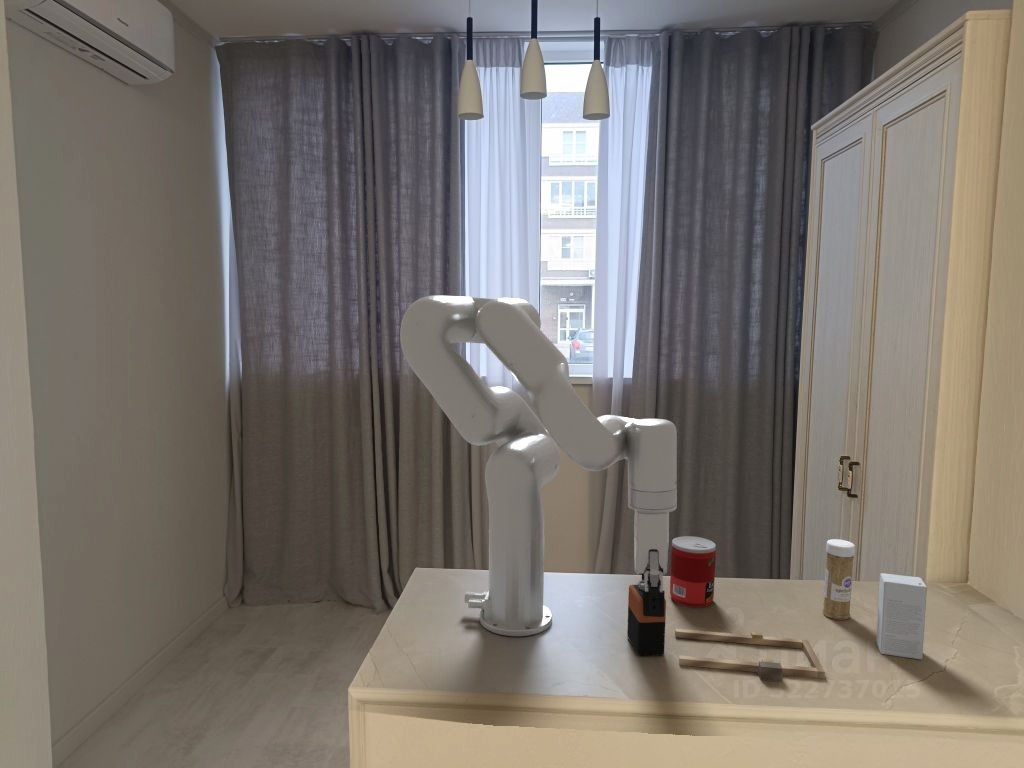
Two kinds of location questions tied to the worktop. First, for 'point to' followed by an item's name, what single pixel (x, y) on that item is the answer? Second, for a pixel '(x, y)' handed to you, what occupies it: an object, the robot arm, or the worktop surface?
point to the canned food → (692, 571)
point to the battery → (644, 625)
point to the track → (764, 667)
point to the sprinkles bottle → (838, 579)
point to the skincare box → (901, 615)
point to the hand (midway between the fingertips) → (652, 602)
